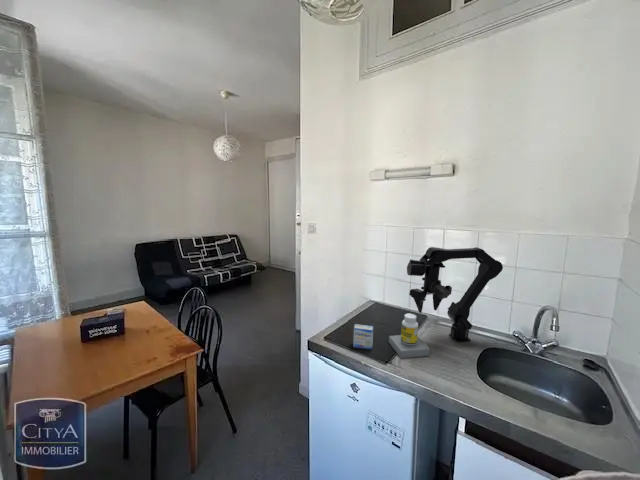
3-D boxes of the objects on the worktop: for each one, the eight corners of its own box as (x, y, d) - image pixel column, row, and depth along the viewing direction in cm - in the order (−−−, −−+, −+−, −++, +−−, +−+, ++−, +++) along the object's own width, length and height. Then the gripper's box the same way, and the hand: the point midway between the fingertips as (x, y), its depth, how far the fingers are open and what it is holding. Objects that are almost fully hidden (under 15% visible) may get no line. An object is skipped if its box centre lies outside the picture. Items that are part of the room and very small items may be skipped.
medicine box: (353, 347, 118) (353, 328, 116) (354, 342, 122) (354, 323, 120) (372, 350, 116) (372, 330, 114) (372, 344, 120) (373, 325, 119)
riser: (414, 340, 123) (415, 334, 123) (429, 355, 112) (429, 348, 111) (388, 342, 122) (389, 336, 121) (400, 358, 110) (401, 351, 109)
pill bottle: (397, 339, 118) (398, 313, 116) (410, 336, 120) (411, 311, 118) (407, 347, 112) (409, 320, 110) (420, 344, 114) (422, 317, 112)
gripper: (430, 283, 110) (426, 321, 112) (462, 280, 118) (458, 315, 120) (410, 276, 120) (406, 311, 121) (440, 273, 128) (437, 306, 130)
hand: (427, 311), depth 123 cm, fingers open, 9 cm apart
